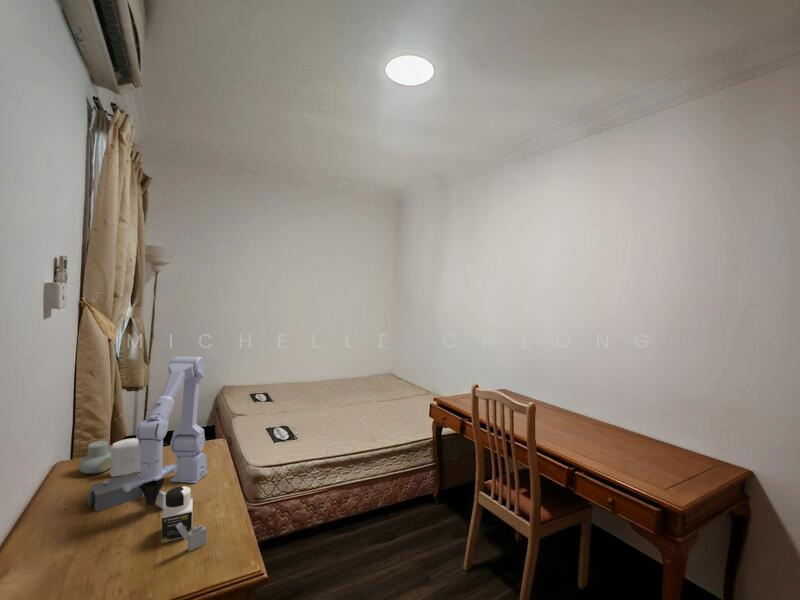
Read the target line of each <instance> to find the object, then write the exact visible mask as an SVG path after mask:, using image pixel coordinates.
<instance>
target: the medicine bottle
mask: <svg viewBox="0 0 800 600" xmlns="http://www.w3.org/2000/svg"><path fill="white" fill-rule="evenodd" d="M165 493H166V504H164V509H162V515H161V543H166V542H170V541H176V540H179V539H184V538H183V537H182V535H181V534H180V532H179V531H178V529H177V528H176V525H177V524H179V523H180V522H181V523H182V524H183V526H184V527H185V529H186V530H187V532H190V531H193V517H194V515H193V509H194V499H193V498H192V497H191V487H189V486H185V485H183V486H182V485H181V486H177V487H172V488H171V489H169V490H168V491H167V492H165Z"/></svg>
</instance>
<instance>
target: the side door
mask: <svg viewBox="0 0 800 600" xmlns="http://www.w3.org/2000/svg"><path fill="white" fill-rule="evenodd" d="M166 493H167V492H165V491H163V490H161V489H160V490H159V493H158V496H157V499H156V502H155V504H154V505H156V506H157V507H159V508H160V509H161V510H163V509H164V504H166ZM143 498H145V496H144V495H143Z"/></svg>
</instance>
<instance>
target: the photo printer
mask: <svg viewBox="0 0 800 600" xmlns="http://www.w3.org/2000/svg"><path fill="white" fill-rule="evenodd" d="M140 449H141V446H139V445H138V439H137V438H135V437H133V438H126V439H121V440H118V441H116V442H114V443H112V446H111V448H110V452H111V468H109V469H110V471H109V473H110V475H109V476H110V477H112V478H115V477H120V476H123V475H127V474H130V473H134V472H136V473H137V474H138V473H140Z"/></svg>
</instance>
